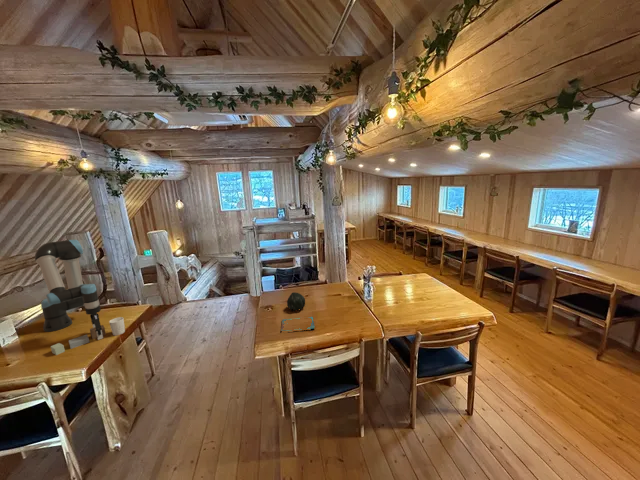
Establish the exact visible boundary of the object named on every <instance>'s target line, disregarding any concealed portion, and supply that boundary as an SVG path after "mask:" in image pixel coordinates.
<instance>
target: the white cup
mask: <svg viewBox="0 0 640 480" xmlns="http://www.w3.org/2000/svg"><path fill="white" fill-rule="evenodd" d="M124 320H125V319H124V317H122V316H119V317H115V318H112V319H110V320H108V322H109V325H110V329H111V332H112V336H120V335H123V334H124V333H125V332H126V329H125V328H126V327H125V321H124Z"/></svg>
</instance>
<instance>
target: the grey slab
mask: <svg viewBox="0 0 640 480" xmlns="http://www.w3.org/2000/svg"><path fill="white" fill-rule="evenodd" d="M88 343H90V339H89V336H88V334H85V335H81V336H78V337H74V338H72V339H69V340H68V344H69V348H70V349H71V350H72V349H75V348H77V347H80V346H83V345H86V344H88Z"/></svg>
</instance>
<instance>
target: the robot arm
mask: <svg viewBox="0 0 640 480" xmlns="http://www.w3.org/2000/svg"><path fill="white" fill-rule="evenodd" d="M83 254H84V250H83V246H82V245H81V243H80V241H79V240H78V239H66V240H59V241H50V242H46V243H44V244H42V245H41V246H39V247H38V248H37V250H36V252H35V254H34V261H35V263H36V264H37V265H39V267H40V270H41V273H42V276H43V278H44V281H45V284H46V287H47V289H48V292H49V293H46V298H44V299H43V300H42V301H41V302H40V305H41V307H40V308H41V309H42V314H43V318H44V323H43V328H42V329H43V332H46V333H47V332H48V333H49V332H54V331H55V332H56V331H59V330H63V329H65V328H68V327H69V326H71V325H72V324H73V320H72V319H71V317H70V316H69V314H68V312H67V311H70V310H73V309H78V308H81V307H84V308H85V314H86V315H87V316H88V315H89V317H90V320H91V324H92V325H91V326H92V328H94V327H95V328H96V330H95V332H96V333H97V338H96V339H97V340H98V341H99V340H101V339H104V336H103V335H102V328H101V325H102V324H101V322H100V315H99V312H100V311H101V305H100V299H99V296H98V291H97V290H98V289H97V286H96V284H95V283H87V284H86V283H84V282H83V276H82V270H81V264H80V258H81V256H82V255H83ZM57 258H58V259H59V261H62V264H63V268H64V273H65V279H66V283H67V284H66V285H67V288H66V286H65V283H64V281H63V278H62V276H61V273H60V271H59V269H58V266H57V264H56V261H57V260H56V259H57ZM98 328H99V329H98Z"/></svg>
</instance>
